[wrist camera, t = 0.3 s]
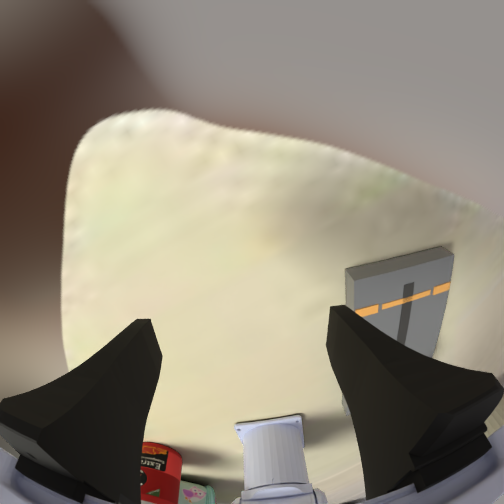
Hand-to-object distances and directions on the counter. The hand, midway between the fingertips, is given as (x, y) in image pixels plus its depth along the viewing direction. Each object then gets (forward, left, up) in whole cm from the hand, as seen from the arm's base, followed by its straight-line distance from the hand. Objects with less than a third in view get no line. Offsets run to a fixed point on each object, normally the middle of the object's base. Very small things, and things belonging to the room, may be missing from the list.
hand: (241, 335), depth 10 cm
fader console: (-12, -13, -10) cm, 20 cm away
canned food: (-30, +19, -10) cm, 37 cm away
